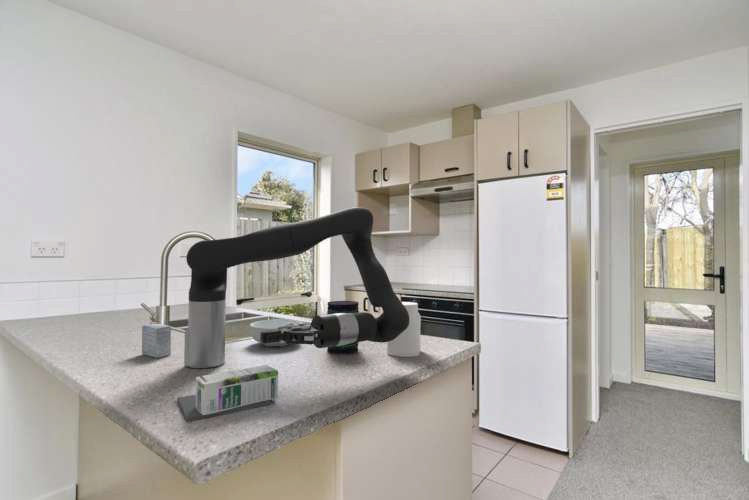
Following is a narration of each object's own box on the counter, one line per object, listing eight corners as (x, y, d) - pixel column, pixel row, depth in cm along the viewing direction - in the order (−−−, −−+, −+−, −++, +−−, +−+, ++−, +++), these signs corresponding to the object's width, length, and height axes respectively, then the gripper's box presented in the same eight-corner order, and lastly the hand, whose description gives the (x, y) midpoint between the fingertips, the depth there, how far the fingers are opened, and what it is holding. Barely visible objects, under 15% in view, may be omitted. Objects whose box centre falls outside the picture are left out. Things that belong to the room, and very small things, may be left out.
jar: (391, 347, 127) (391, 300, 127) (421, 348, 125) (421, 301, 125) (385, 356, 116) (386, 305, 116) (418, 357, 114) (418, 306, 114)
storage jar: (345, 356, 115) (346, 305, 115) (320, 351, 120) (320, 303, 121) (364, 349, 123) (365, 302, 124) (340, 345, 129) (340, 300, 129)
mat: (252, 387, 87) (252, 384, 87) (270, 404, 77) (270, 401, 77) (177, 400, 79) (177, 397, 79) (186, 421, 69) (186, 418, 69)
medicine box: (171, 355, 115) (171, 325, 115) (155, 358, 111) (156, 328, 111) (156, 351, 119) (157, 323, 119) (141, 354, 115) (141, 325, 116)
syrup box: (278, 399, 79) (202, 417, 70) (266, 390, 83) (193, 406, 74) (279, 370, 79) (203, 384, 70) (266, 363, 83) (194, 376, 74)
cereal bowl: (238, 347, 126) (238, 325, 126) (269, 337, 141) (269, 317, 141) (284, 352, 120) (284, 329, 120) (311, 341, 135) (311, 320, 135)
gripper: (322, 310, 98) (252, 315, 88) (348, 317, 87) (272, 324, 77) (321, 340, 98) (251, 349, 88) (348, 351, 87) (271, 362, 77)
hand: (261, 337), depth 82 cm, fingers closed
